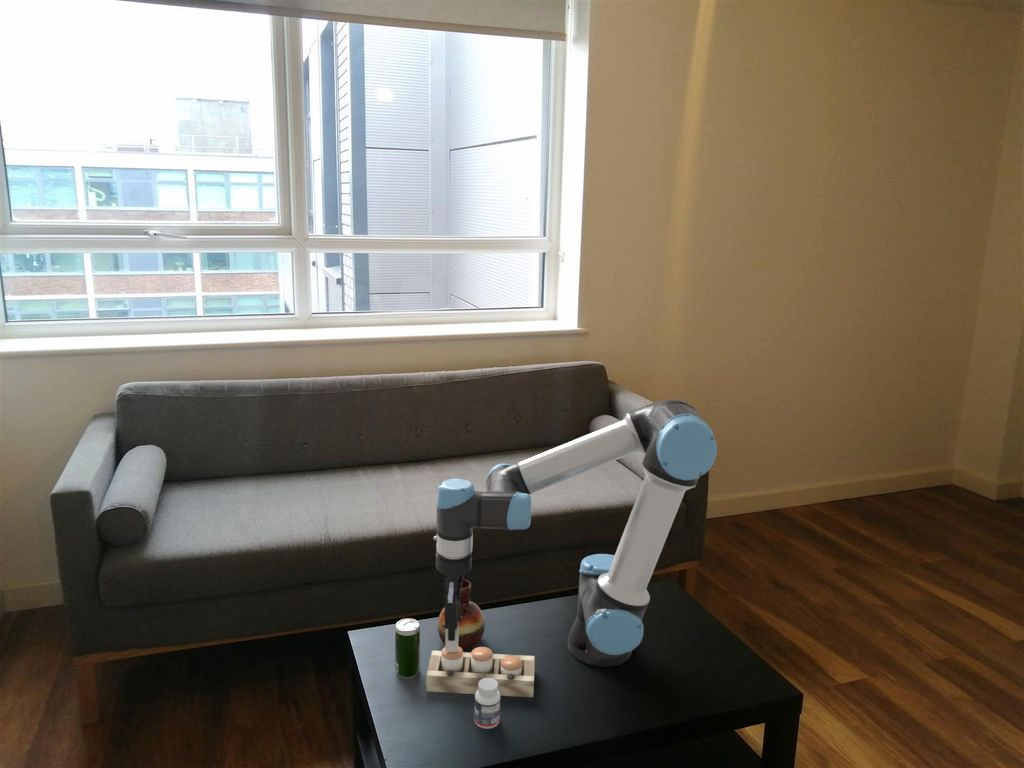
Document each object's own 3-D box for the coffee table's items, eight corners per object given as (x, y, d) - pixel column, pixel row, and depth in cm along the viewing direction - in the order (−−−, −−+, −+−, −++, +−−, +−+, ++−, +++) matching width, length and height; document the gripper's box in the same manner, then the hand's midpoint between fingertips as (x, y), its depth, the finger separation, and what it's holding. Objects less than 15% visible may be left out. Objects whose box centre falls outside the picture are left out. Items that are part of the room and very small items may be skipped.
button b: (492, 665, 177) (493, 647, 176) (491, 678, 172) (491, 659, 171) (472, 664, 177) (472, 646, 176) (470, 676, 173) (470, 658, 171)
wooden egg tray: (533, 671, 179) (534, 655, 178) (533, 697, 171) (534, 680, 170) (431, 665, 180) (432, 649, 179) (426, 691, 171) (426, 674, 170)
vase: (455, 661, 182) (456, 601, 178) (428, 638, 190) (429, 580, 186) (493, 644, 189) (495, 586, 185) (466, 623, 197) (467, 567, 193)
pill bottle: (473, 712, 165) (474, 675, 163) (498, 711, 166) (500, 675, 164) (474, 730, 160) (475, 692, 158) (500, 729, 161) (501, 691, 158)
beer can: (401, 682, 174) (401, 634, 171) (391, 669, 178) (391, 622, 175) (423, 674, 177) (424, 627, 174) (413, 662, 181) (413, 615, 178)
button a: (521, 674, 177) (522, 656, 176) (521, 687, 173) (521, 669, 172) (500, 672, 177) (501, 655, 176) (499, 686, 173) (500, 667, 172)
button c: (463, 663, 177) (463, 645, 176) (461, 676, 173) (461, 658, 171) (442, 662, 177) (443, 644, 176) (440, 675, 173) (440, 657, 172)
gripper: (440, 536, 174) (438, 631, 180) (432, 565, 161) (430, 667, 167) (474, 538, 173) (471, 633, 180) (469, 567, 161) (466, 669, 167)
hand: (451, 649), depth 174 cm, fingers closed
